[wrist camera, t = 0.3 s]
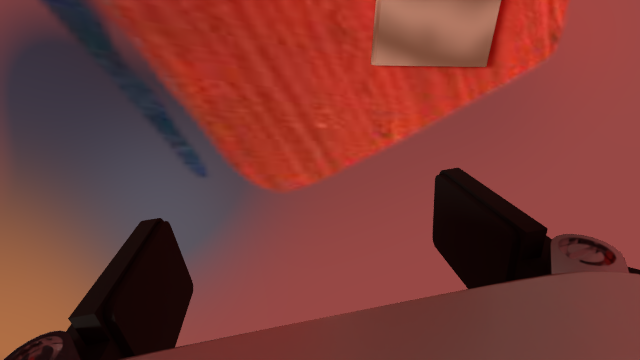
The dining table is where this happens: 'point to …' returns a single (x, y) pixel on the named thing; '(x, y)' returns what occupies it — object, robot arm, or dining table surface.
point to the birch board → (433, 32)
